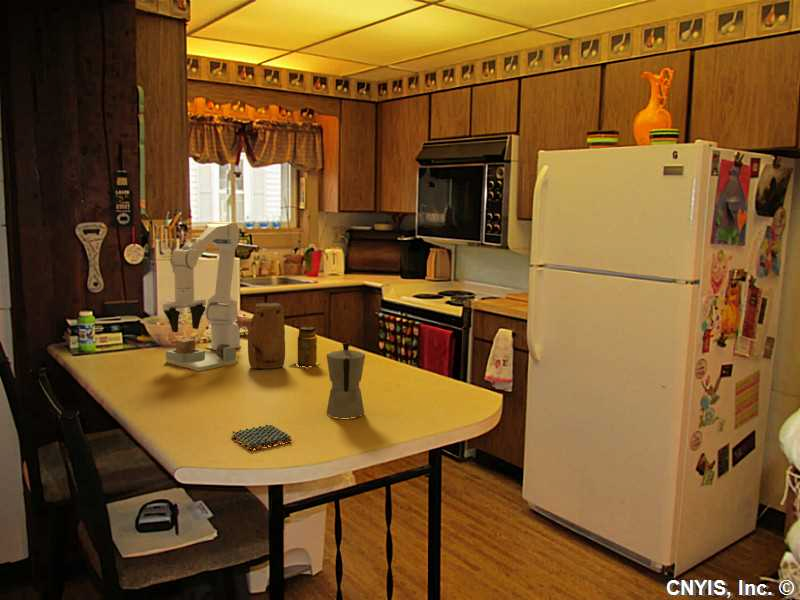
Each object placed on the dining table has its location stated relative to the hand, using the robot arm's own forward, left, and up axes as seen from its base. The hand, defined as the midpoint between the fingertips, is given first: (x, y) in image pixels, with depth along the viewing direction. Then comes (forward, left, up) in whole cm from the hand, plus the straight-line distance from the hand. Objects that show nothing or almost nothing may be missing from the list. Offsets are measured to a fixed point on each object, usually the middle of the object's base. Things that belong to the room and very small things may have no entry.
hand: (185, 330), depth 216 cm
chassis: (-3, +4, -10) cm, 12 cm away
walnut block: (0, 0, -9) cm, 9 cm away
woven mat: (+32, +72, -11) cm, 80 cm away
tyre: (-8, +9, -9) cm, 15 cm away
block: (-13, +23, -11) cm, 29 cm away
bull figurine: (-42, -22, -11) cm, 48 cm away
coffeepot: (+7, +74, -11) cm, 76 cm away
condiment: (-23, +30, -11) cm, 39 cm away
